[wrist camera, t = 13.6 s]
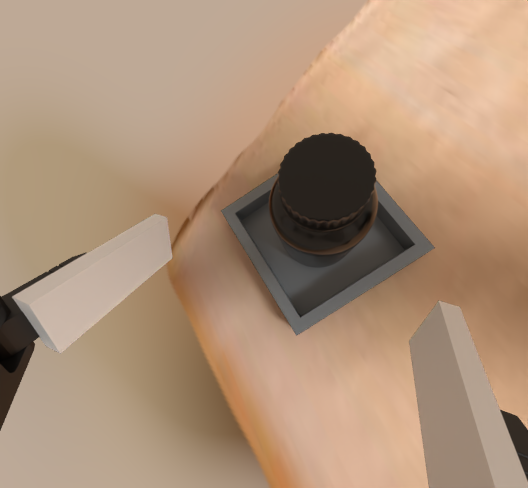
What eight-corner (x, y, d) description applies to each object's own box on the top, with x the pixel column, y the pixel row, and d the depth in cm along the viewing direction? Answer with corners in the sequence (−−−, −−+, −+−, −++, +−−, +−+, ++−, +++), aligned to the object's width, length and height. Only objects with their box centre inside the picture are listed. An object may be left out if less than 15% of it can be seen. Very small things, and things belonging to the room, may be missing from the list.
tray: (333, 151, 26) (336, 134, 23) (419, 254, 22) (435, 247, 20) (229, 219, 26) (220, 210, 23) (297, 331, 23) (296, 335, 20)
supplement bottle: (267, 243, 24) (229, 194, 13) (306, 188, 25) (304, 92, 13) (328, 284, 22) (348, 270, 11) (368, 223, 23) (429, 148, 11)
